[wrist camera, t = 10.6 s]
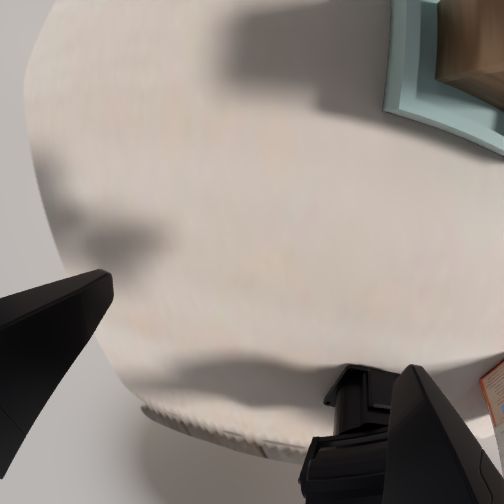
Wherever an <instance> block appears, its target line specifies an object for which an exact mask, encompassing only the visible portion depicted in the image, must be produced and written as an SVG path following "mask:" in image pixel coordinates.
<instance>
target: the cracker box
mask: <svg viewBox="0 0 504 504" xmlns="http://www.w3.org/2000/svg"><path fill="white" fill-rule="evenodd" d="M479 382H480V385H481V388H482V391H483V394H484V397H485V400H486V403H487V407H488V410H489V414H490V417H491V421H492V424H493V428H494V432H495V436H496V440H497V445H498V450H499V455H500V460H501V465H502V471H503V478H504V361H503V362H502V363H500V364H499V365H498V366H497V367H496V368H495V369H493V370H492V371H491V372H490V373H488V374H487V375H486V376H484V377H483V378H482V379H481V380H480V381H479Z"/></svg>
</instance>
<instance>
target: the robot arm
mask: <svg viewBox="0 0 504 504" xmlns="http://www.w3.org/2000/svg"><path fill="white" fill-rule="evenodd" d="M113 298H114V291H113V279H112V275H111V273H109V272H107V271H105V270H102V269H97V270H93V271H90V272H86V273H83V274H79V275H76V276H73V277H69V278H66V279H63V280H59V281H55V282H52V283H49V284H45V285H42V286H39V287H35V288H32V289H29V290H25V291H22V292H19V293H16V294H13V295H9V296H6V297H3V298H0V479H3V477H4V476H5V474H6V472H7V470H8V468H9V466H10V464H11V462H12V460H13V459H14V457H15V455H16V453H17V451H18V450H19V448H20V446H21V444H22V442H23V441H24V439H25V437H26V435H27V434H28V432H29V430H30V428H31V427H32V425H33V424H34V422H35V420H36V418H37V417H38V415H39V414H40V412H41V411H42V409H43V407H44V406H45V404H46V403H47V401H48V399H49V398H50V396H51V395H52V393H53V392H54V390H55V389H56V387H57V385H58V384H59V383H60V381H61V380H62V378H63V377H64V375H65V374H66V372H67V371H68V369H69V368H70V367H71V365H72V364H73V362H74V361H75V359H76V358H77V357H78V355H79V354H80V352H81V351H82V350H83V348H84V347H85V345H86V344H87V343H88V341H89V340H90V338H91V336H92V335H93V333H94V332H95V330H96V328H97V326H98V325H99V323H100V321H101V320H102V318H103V316H104V315H105V313H106V311H107V310H108V308H109V306H110V305H111V303H112V301H113ZM323 403H324V405H327V406H332V407H335V417H334V432H333V436H326V437H319V436H318V437H313V439H312V442H311V444H310V446H309V449H308V452H307V455H306V458H305V461H304V464H303V467H302V471H301V473H300V477H299V479H298V483H299V484H300V485H301V491H302V495H303V496H304V498H305V499H306V504H504V478H503V477H502V475H501V474H500V473H499V471H498V470H497V469H496V468H495V466H494V464H493V463H492V462H491V460H490V459H489V457H488V456H487V454H486V453H485V451H484V450H483V449H482V447H481V445H480V444H479V442H478V441H477V439H476V438H475V437H474V435H473V434H472V432H471V431H470V429H469V428H468V427H467V425H466V424H465V422H464V421H463V420H462V418H461V417H460V416H459V414H458V413H457V411H456V410H455V409H454V407H453V406H452V405H451V403H450V402H449V401H448V399H447V398H446V397H445V395H444V394H443V393H442V391H441V390H440V389H439V387H438V386H437V385H436V384H435V382H434V381H433V380H432V378H431V377H430V376H429V375H428V373H427V372H426V371H425V369H424V368H423V367H422V366H419V365H414V364H410V365H409V366H407V367H406V369H405V370H404V371H403V372H402V374H401V375H398V374H393V373H388V372H383V371H378V370H373V369H368V368H364V367H359V366H355V365H349V366H347V367H346V368H345V370H344V371H343V373H342V374H341V376H340V377H339V379H338V380H337V382H336V383H335V384H334V386H333V387H332V389H331V390H330V391H329V393H328V394H327V396H326V397H325V398H324V402H323Z"/></svg>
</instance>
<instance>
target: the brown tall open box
mask: <svg viewBox="0 0 504 504" xmlns="http://www.w3.org/2000/svg"><path fill="white" fill-rule="evenodd" d="M435 80H437V81H440V82H442V83H445V84H447V85H450V86H452V87H454V88H457V89H459V90H461V91H463V92H466V93H468V94H470V95H472V96H474V97H476V98H478V99H480V100H482V101H484V102H486V103H488V104H490V105H492V106H494V107H496V108H498V109H499V110H501V111H503V112H504V0H440V1H439V2H438V3H437V56H436V71H435Z"/></svg>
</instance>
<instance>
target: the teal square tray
mask: <svg viewBox="0 0 504 504" xmlns="http://www.w3.org/2000/svg"><path fill="white" fill-rule="evenodd" d="M439 1H440V0H391V26H390V44H389V57H388V68H387V78H386V86H385V95H384V102H383V109H382V111H385V112H388V113H392V114H395V115H399V116H402V117H406V118H409V119H412V120H415V121H418V122H421V123H424V124H427V125H430V126H433V127H436V128H438V129H441V130H444V131H447V132H449V133H452V134H454V135H457V136H459V137H462V138H464V139H467V140H469V141H471V142H474V143H476V144H478V145H480V146H483V147H485V148H487V149H489V150H491V151H493V152H495V153H497V154H499V155H501V156H503V157H504V112H503V111H501V110H499V109H498V108H496V107H494V106H492V105H490V104H488V103H486V102H484V101H482V100H480V99H478V98H476V97H474V96H472V95H470V94H468V93H466V92H463V91H461V90H459V89H457V88H454V87H452V86H450V85H447V84H445V83H442V82H440V81H437V80H435V71H436V56H437V3H438V2H439Z"/></svg>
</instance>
